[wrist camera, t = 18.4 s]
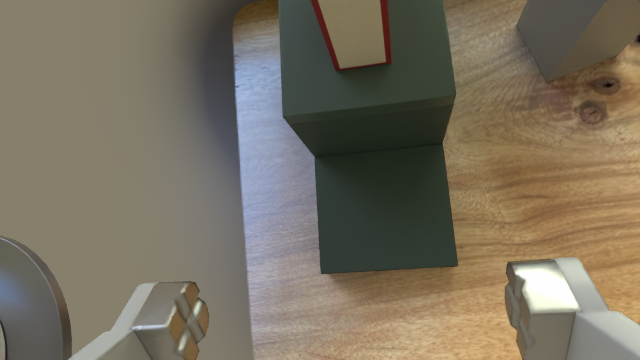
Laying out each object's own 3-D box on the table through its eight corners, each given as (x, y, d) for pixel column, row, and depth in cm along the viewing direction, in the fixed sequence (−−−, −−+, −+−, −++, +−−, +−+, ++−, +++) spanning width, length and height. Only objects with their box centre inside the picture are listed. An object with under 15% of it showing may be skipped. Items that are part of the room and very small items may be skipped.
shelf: (326, 273, 41) (288, 274, 28) (313, 42, 47) (276, -50, 34) (454, 266, 39) (479, 263, 26) (424, 24, 45) (432, -82, 31)
